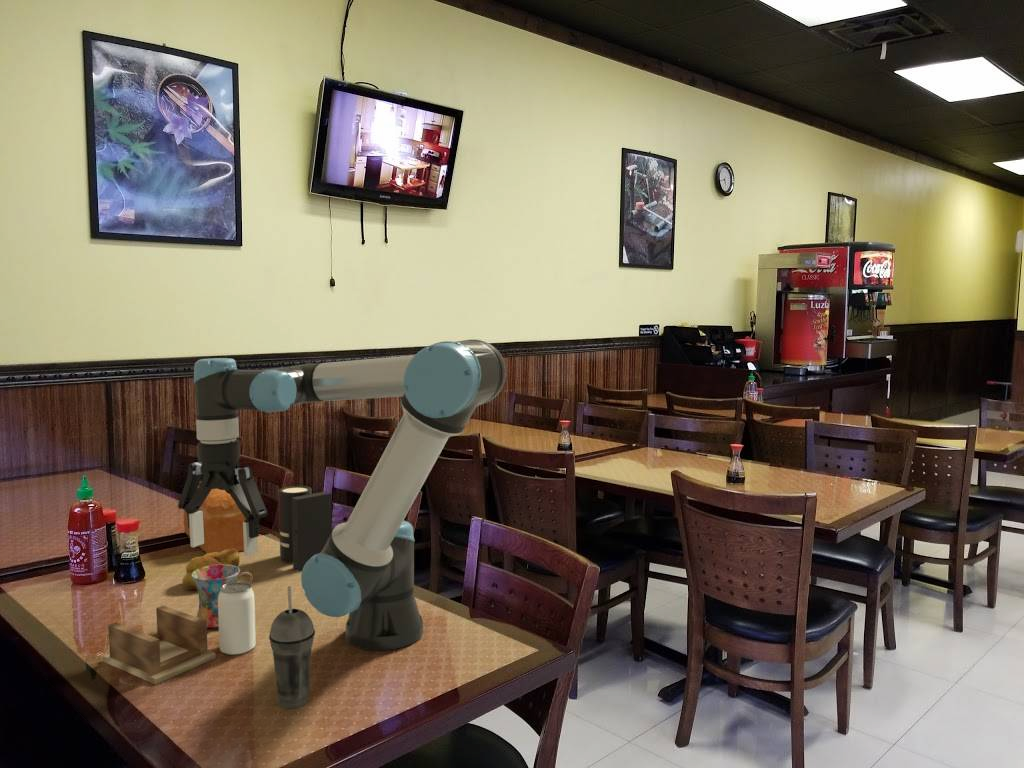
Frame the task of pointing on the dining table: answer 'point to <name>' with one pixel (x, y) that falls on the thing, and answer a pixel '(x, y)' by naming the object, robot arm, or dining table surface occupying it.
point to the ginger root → (209, 564)
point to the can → (236, 618)
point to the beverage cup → (292, 654)
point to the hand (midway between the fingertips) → (223, 549)
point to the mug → (213, 589)
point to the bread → (220, 523)
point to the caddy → (160, 646)
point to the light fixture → (303, 524)
